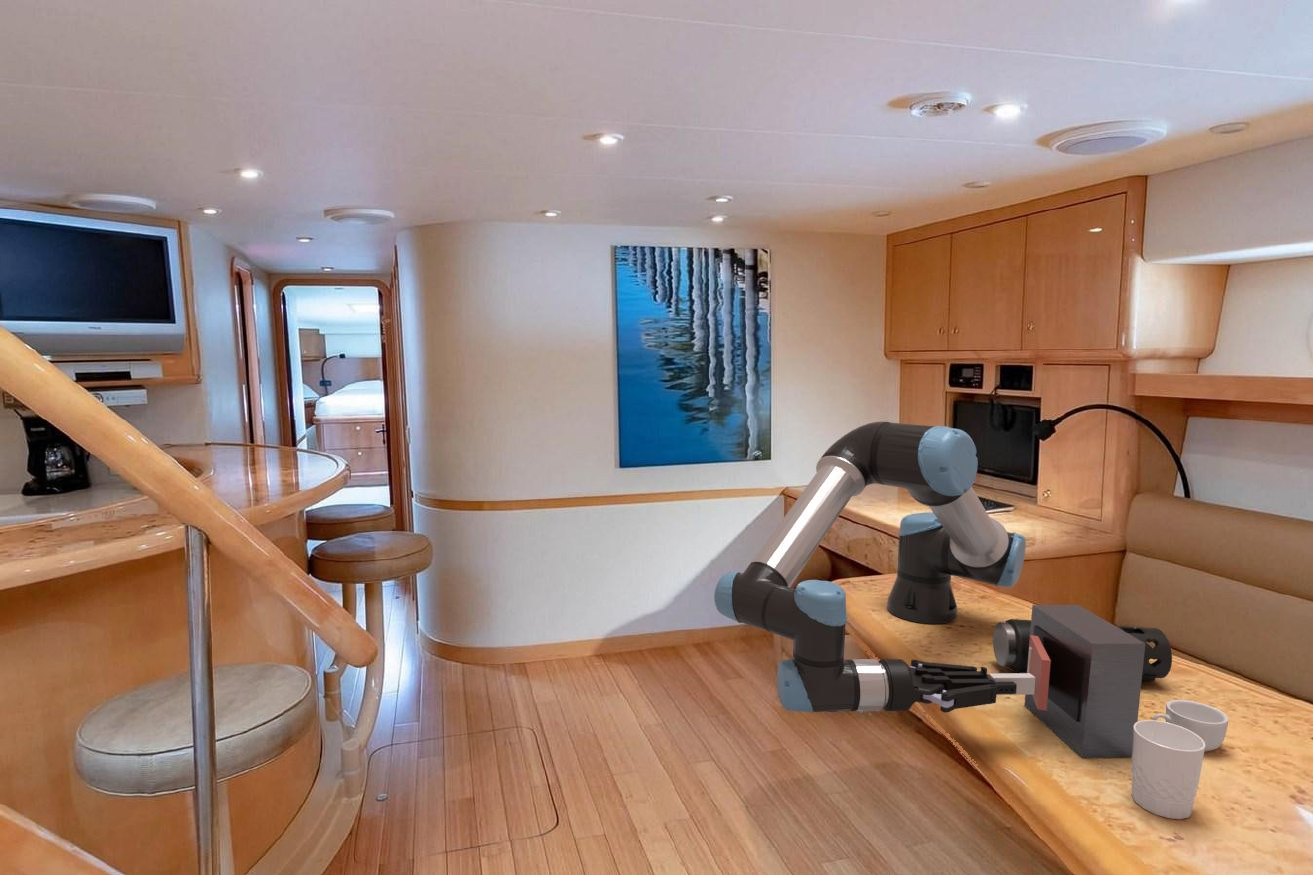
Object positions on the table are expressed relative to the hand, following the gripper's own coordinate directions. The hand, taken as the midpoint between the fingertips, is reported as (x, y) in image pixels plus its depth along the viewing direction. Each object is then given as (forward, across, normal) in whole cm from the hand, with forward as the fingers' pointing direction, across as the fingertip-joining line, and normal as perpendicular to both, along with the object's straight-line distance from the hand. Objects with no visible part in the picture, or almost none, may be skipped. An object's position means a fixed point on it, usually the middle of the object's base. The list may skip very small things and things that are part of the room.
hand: (1031, 683), depth 112 cm
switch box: (+10, -4, -10) cm, 15 cm away
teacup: (+25, 0, -10) cm, 27 cm away
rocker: (+3, -4, -4) cm, 6 cm away
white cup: (+10, +15, -10) cm, 21 cm away
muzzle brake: (+22, -23, -10) cm, 34 cm away
